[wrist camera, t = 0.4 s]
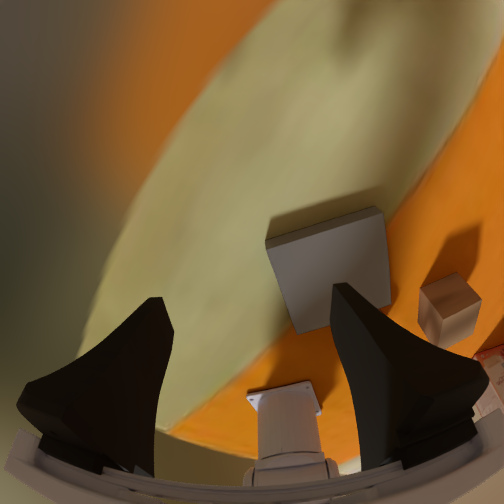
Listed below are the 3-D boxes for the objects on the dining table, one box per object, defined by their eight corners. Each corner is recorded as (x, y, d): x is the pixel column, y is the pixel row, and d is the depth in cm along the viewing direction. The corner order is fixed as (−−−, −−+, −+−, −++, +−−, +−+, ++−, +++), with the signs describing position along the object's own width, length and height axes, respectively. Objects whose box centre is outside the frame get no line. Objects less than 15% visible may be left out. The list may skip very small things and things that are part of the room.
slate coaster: (385, 294, 23) (391, 304, 22) (295, 323, 25) (297, 334, 23) (375, 206, 19) (383, 212, 18) (265, 240, 21) (265, 250, 19)
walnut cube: (451, 305, 25) (472, 334, 20) (417, 321, 26) (436, 353, 21) (456, 271, 23) (482, 299, 18) (419, 287, 23) (443, 319, 19)
